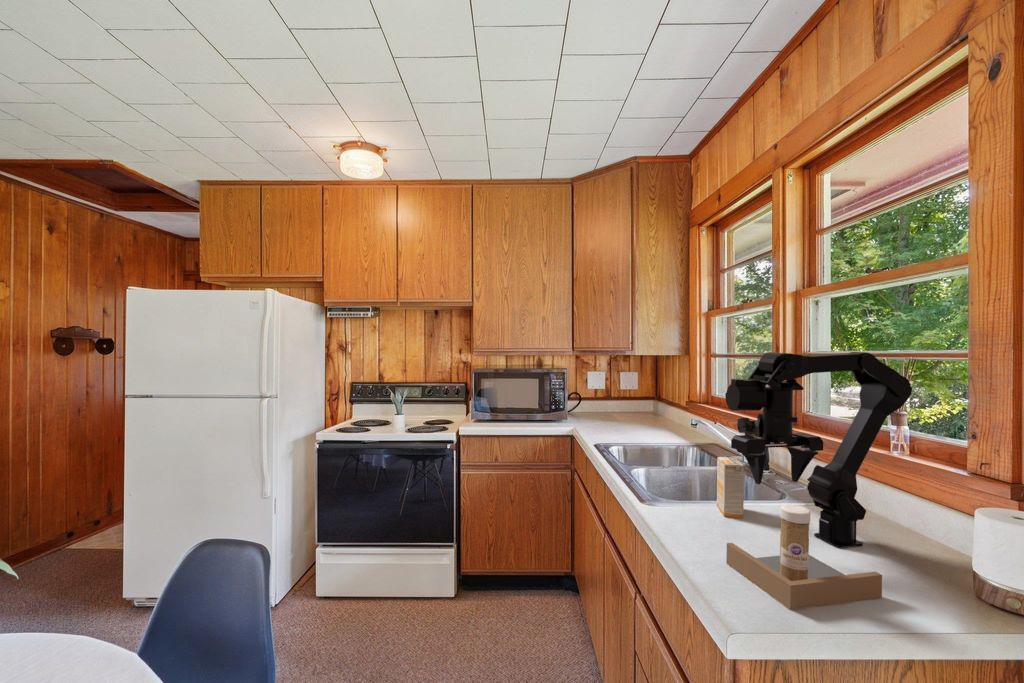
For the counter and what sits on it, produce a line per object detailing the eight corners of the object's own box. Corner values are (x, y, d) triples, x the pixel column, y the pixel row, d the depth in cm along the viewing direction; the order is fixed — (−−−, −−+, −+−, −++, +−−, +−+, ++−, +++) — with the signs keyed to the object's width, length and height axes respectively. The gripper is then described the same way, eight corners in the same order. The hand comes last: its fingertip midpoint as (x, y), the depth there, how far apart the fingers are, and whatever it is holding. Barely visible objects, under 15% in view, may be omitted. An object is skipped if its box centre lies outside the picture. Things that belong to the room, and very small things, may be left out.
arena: (805, 555, 98) (805, 535, 98) (881, 598, 82) (882, 574, 82) (726, 563, 94) (726, 543, 94) (790, 609, 78) (790, 585, 78)
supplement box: (744, 518, 117) (745, 465, 117) (723, 517, 118) (724, 464, 118) (735, 506, 125) (736, 457, 125) (716, 505, 126) (716, 455, 126)
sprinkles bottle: (785, 589, 83) (786, 512, 83) (774, 576, 88) (776, 502, 87) (813, 591, 82) (815, 513, 82) (801, 578, 87) (803, 504, 87)
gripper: (786, 404, 113) (785, 470, 113) (715, 406, 109) (714, 474, 109) (826, 411, 102) (824, 484, 102) (749, 414, 98) (748, 489, 99)
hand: (776, 482), depth 103 cm, fingers open, 9 cm apart
